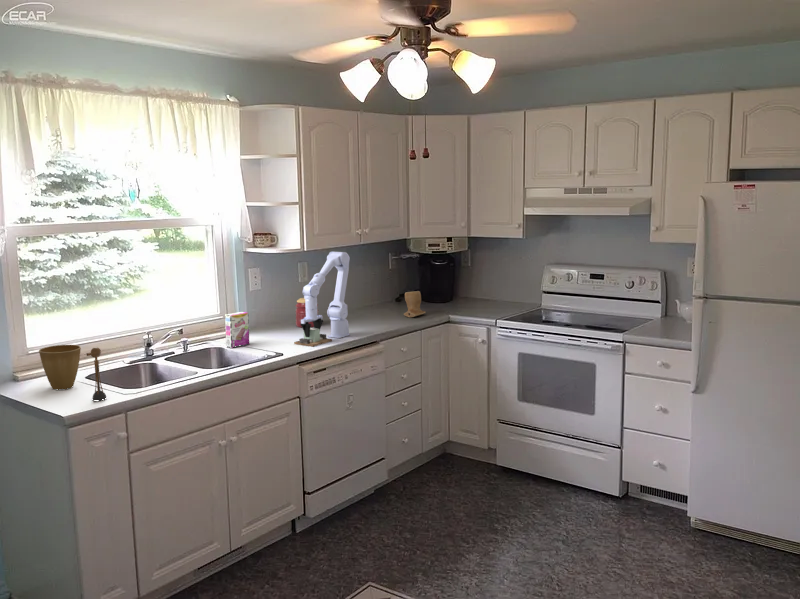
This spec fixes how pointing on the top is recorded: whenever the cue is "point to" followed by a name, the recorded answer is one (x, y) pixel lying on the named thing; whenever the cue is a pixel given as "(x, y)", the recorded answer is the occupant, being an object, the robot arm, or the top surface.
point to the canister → (302, 312)
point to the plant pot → (60, 364)
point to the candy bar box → (237, 329)
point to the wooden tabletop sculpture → (97, 374)
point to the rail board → (310, 342)
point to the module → (314, 334)
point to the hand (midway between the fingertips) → (312, 335)
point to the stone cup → (413, 304)
